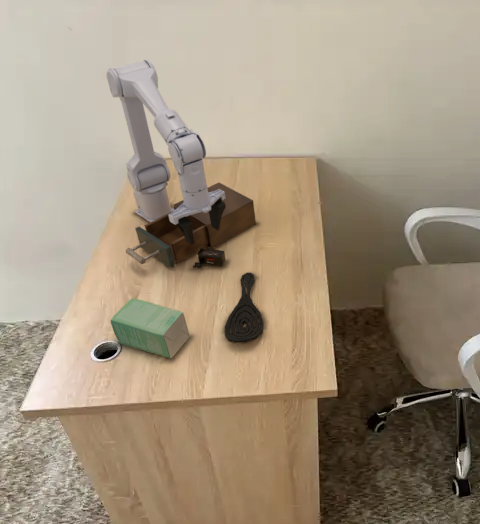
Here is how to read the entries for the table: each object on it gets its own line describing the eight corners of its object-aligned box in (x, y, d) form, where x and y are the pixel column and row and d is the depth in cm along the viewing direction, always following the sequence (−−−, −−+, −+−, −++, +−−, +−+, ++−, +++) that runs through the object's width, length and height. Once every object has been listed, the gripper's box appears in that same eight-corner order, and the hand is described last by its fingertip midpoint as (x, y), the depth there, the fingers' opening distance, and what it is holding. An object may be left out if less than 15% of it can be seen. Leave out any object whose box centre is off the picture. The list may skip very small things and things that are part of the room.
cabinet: (212, 249, 148) (207, 225, 144) (178, 228, 156) (173, 204, 151) (256, 224, 157) (253, 200, 153) (222, 205, 165) (218, 182, 160)
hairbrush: (264, 264, 139) (260, 335, 119) (266, 277, 141) (262, 348, 121) (230, 266, 139) (220, 338, 118) (232, 278, 141) (222, 351, 120)
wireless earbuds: (199, 258, 146) (197, 247, 144) (226, 260, 145) (225, 250, 143) (192, 269, 142) (190, 259, 140) (220, 272, 141) (218, 262, 139)
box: (138, 320, 128) (130, 295, 123) (190, 336, 124) (184, 311, 120) (117, 343, 123) (107, 318, 118) (171, 360, 119) (164, 335, 114)
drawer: (151, 279, 138) (146, 259, 134) (121, 257, 144) (115, 238, 141) (216, 242, 150) (213, 222, 146) (186, 223, 156) (182, 204, 152)
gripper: (178, 206, 123) (188, 256, 132) (230, 179, 132) (237, 228, 140) (158, 194, 127) (170, 243, 135) (210, 169, 135) (219, 217, 144)
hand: (203, 235), depth 138 cm, fingers open, 7 cm apart
